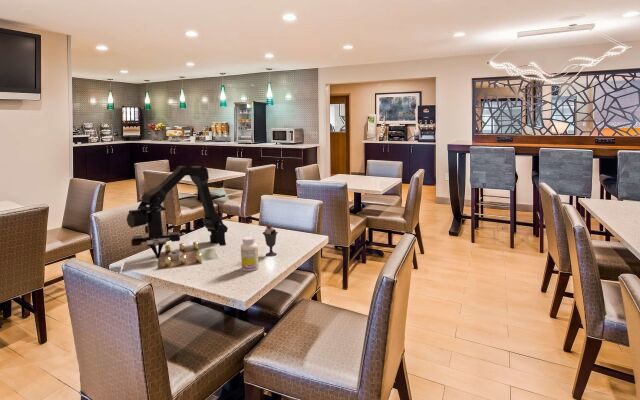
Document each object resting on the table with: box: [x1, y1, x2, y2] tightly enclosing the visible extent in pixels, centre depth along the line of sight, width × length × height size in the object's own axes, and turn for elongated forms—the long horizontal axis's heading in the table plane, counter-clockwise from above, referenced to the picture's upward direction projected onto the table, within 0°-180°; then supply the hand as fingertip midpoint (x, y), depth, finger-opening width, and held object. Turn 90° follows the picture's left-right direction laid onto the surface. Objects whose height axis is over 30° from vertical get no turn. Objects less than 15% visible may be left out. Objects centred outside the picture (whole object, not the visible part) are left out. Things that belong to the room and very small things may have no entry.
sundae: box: [262, 221, 279, 257], centre depth 177 cm, size 7×7×15 cm
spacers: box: [164, 241, 203, 267], centre depth 173 cm, size 14×20×4 cm
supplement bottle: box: [240, 235, 260, 272], centre depth 160 cm, size 7×7×13 cm
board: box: [157, 247, 219, 271], centre depth 174 cm, size 24×24×1 cm
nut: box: [168, 250, 182, 261], centre depth 172 cm, size 6×5×3 cm
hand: (158, 258), depth 170 cm, fingers closed
